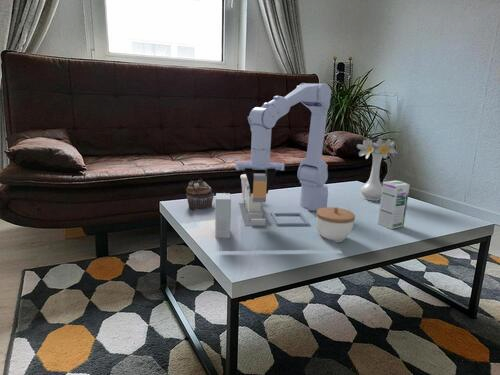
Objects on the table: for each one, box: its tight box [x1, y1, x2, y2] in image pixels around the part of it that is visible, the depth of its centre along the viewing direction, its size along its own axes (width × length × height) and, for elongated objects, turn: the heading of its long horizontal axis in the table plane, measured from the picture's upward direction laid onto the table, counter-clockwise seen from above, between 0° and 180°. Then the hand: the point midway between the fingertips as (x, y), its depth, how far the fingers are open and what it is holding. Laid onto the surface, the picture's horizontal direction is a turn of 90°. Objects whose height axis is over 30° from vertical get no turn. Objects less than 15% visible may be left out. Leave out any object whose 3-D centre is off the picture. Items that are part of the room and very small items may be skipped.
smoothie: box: [240, 173, 248, 200], centre depth 132 cm, size 6×6×14 cm
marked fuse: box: [251, 172, 267, 203], centre depth 105 cm, size 4×4×8 cm
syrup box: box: [377, 180, 411, 230], centre depth 111 cm, size 6×6×14 cm
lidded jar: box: [315, 206, 356, 243], centre depth 99 cm, size 11×11×9 cm
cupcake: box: [185, 178, 215, 211], centre depth 121 cm, size 10×10×10 cm
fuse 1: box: [245, 183, 250, 206], centre depth 122 cm, size 4×4×8 cm
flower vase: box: [356, 137, 399, 202], centre depth 139 cm, size 13×18×25 cm
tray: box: [271, 212, 310, 227], centre depth 111 cm, size 10×10×2 cm
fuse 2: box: [247, 189, 262, 213], centre depth 115 cm, size 4×4×8 cm
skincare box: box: [214, 192, 232, 239], centre depth 97 cm, size 6×4×12 cm
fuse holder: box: [238, 198, 272, 227], centre depth 116 cm, size 8×23×3 cm, turn 7°
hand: (258, 192), depth 106 cm, fingers closed on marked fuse, 4 cm apart
